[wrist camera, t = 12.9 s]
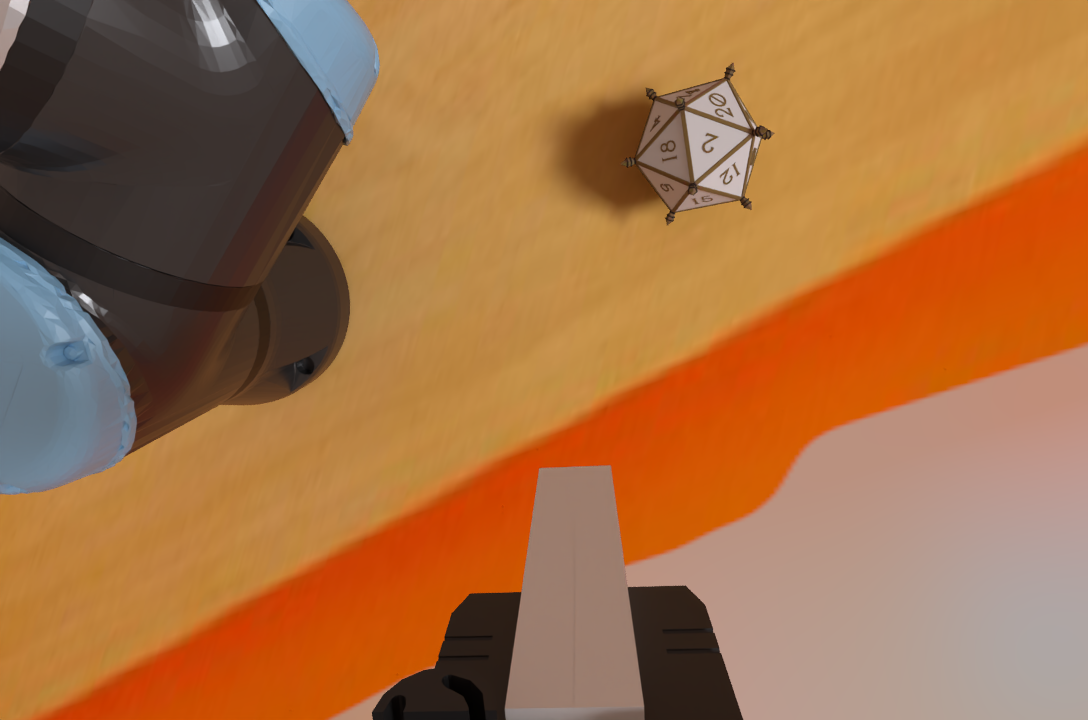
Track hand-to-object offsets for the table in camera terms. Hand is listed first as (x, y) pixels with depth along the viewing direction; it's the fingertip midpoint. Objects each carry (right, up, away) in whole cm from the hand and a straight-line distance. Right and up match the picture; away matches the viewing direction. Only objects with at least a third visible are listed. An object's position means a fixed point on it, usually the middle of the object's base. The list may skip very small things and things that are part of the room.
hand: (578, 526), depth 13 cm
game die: (+9, +18, +29) cm, 35 cm away
